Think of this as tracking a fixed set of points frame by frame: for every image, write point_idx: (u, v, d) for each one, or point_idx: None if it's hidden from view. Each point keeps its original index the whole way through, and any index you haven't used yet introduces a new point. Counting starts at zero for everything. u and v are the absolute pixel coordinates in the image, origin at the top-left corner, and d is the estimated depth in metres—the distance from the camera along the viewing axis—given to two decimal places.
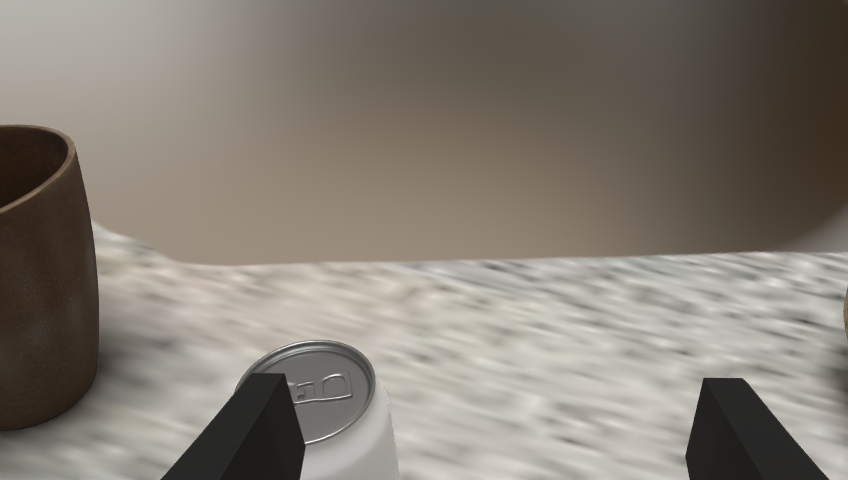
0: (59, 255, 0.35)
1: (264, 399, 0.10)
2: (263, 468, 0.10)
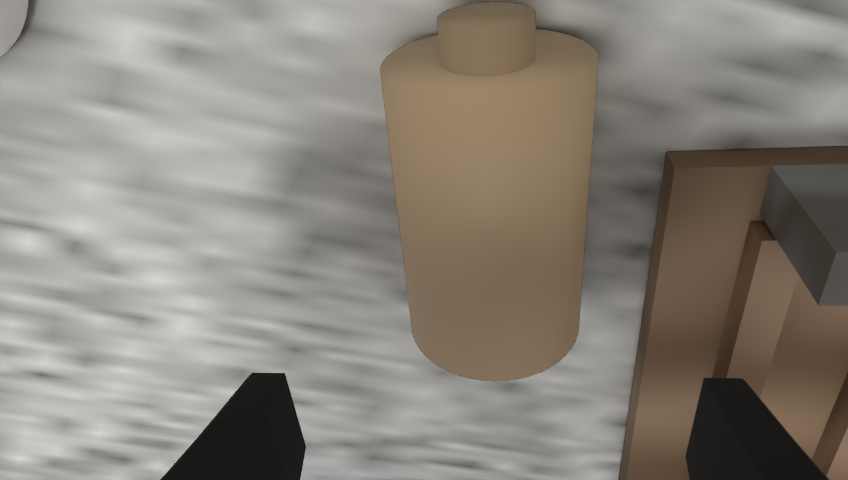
0: None
1: (264, 399, 0.10)
2: (263, 468, 0.10)
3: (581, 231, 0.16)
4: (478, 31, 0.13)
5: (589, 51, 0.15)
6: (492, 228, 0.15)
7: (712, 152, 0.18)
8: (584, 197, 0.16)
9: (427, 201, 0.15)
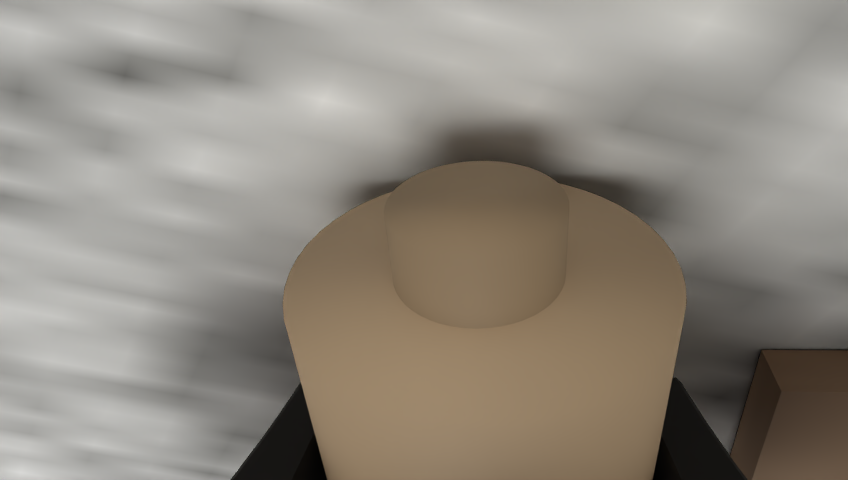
0: None
1: None
2: None
3: None
4: (458, 259, 0.07)
5: (665, 259, 0.08)
6: None
7: (835, 355, 0.12)
8: None
9: None
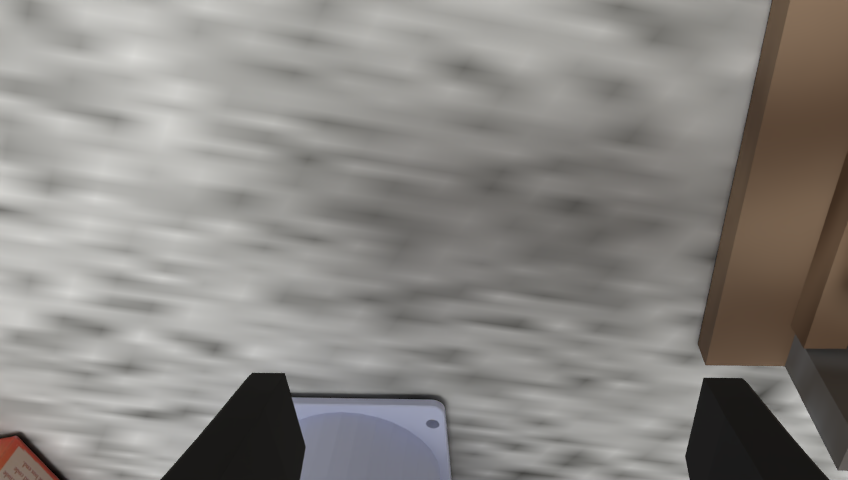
0: None
1: (264, 399, 0.10)
2: (263, 468, 0.10)
3: None
4: None
5: None
6: None
7: None
8: None
9: None
